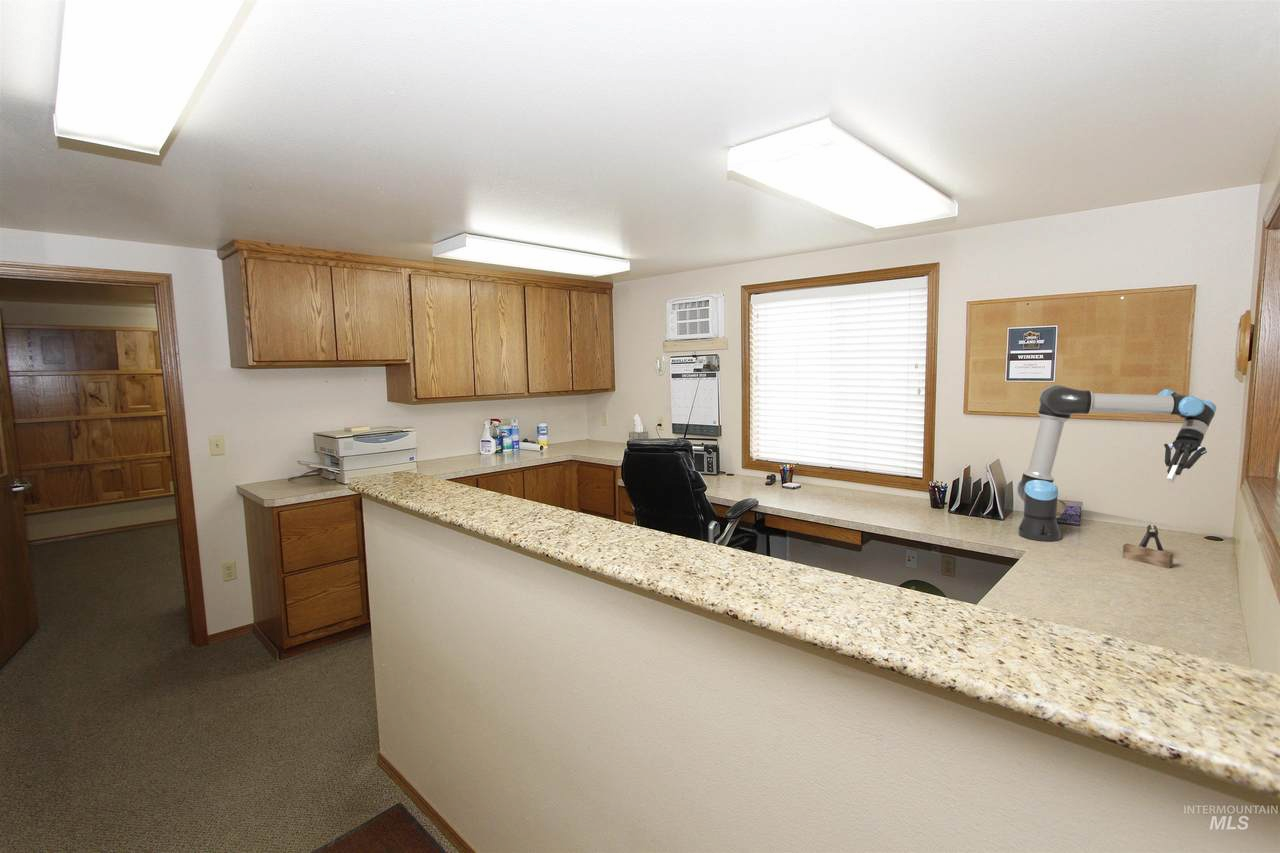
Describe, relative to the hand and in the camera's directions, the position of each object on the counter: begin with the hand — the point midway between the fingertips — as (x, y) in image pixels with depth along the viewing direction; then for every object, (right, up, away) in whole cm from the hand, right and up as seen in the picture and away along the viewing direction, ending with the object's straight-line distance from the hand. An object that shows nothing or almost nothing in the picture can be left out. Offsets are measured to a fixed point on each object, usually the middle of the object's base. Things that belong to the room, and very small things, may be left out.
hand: (1170, 480), depth 227 cm
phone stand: (-11, -29, -4) cm, 31 cm away
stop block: (-16, -30, -8) cm, 35 cm away
